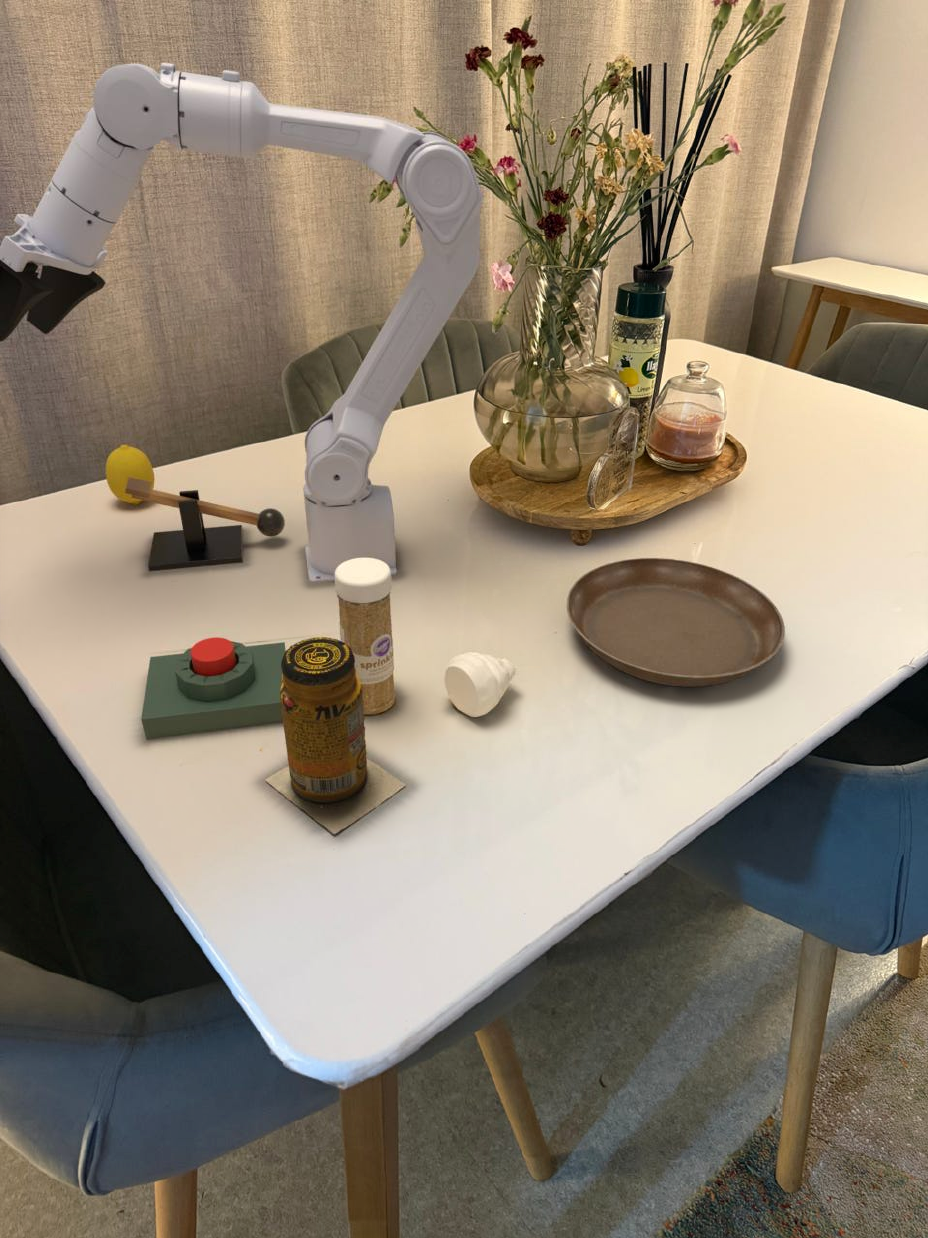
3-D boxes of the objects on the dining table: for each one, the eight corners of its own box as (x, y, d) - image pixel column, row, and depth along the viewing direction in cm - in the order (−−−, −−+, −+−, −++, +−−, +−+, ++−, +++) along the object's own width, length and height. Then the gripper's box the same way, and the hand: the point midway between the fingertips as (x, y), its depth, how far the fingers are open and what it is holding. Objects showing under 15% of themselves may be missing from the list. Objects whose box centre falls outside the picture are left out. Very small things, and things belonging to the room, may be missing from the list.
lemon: (146, 516, 108) (133, 455, 104) (104, 512, 109) (90, 451, 105) (167, 497, 113) (156, 438, 109) (127, 493, 114) (114, 434, 110)
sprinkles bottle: (377, 723, 76) (369, 588, 69) (334, 706, 78) (322, 574, 71) (406, 694, 79) (401, 563, 72) (364, 679, 81) (355, 550, 74)
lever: (280, 531, 104) (287, 507, 102) (281, 544, 101) (288, 519, 100) (124, 496, 98) (129, 470, 96) (121, 509, 95) (126, 482, 93)
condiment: (336, 738, 74) (324, 618, 68) (406, 786, 70) (401, 663, 63) (265, 782, 70) (245, 658, 63) (334, 837, 65) (320, 710, 58)
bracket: (242, 532, 105) (234, 477, 101) (243, 564, 99) (234, 507, 95) (155, 539, 104) (143, 484, 100) (149, 573, 97) (137, 515, 93)
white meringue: (531, 700, 79) (534, 650, 76) (482, 730, 75) (484, 678, 72) (487, 673, 82) (489, 624, 79) (439, 700, 79) (439, 650, 76)
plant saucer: (825, 662, 84) (833, 633, 82) (655, 730, 75) (660, 700, 74) (680, 567, 99) (684, 540, 97) (524, 615, 90) (525, 587, 89)
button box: (287, 661, 84) (282, 625, 81) (291, 721, 76) (286, 684, 74) (154, 676, 81) (146, 640, 79) (146, 739, 74) (136, 702, 72)
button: (236, 651, 79) (233, 635, 78) (236, 675, 76) (233, 658, 75) (194, 656, 78) (191, 639, 77) (192, 680, 75) (189, 663, 74)
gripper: (85, 175, 82) (20, 297, 87) (-5, 160, 69) (-75, 305, 74) (149, 226, 83) (82, 344, 88) (73, 222, 70) (-1, 360, 75)
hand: (15, 330), depth 81 cm, fingers open, 7 cm apart
